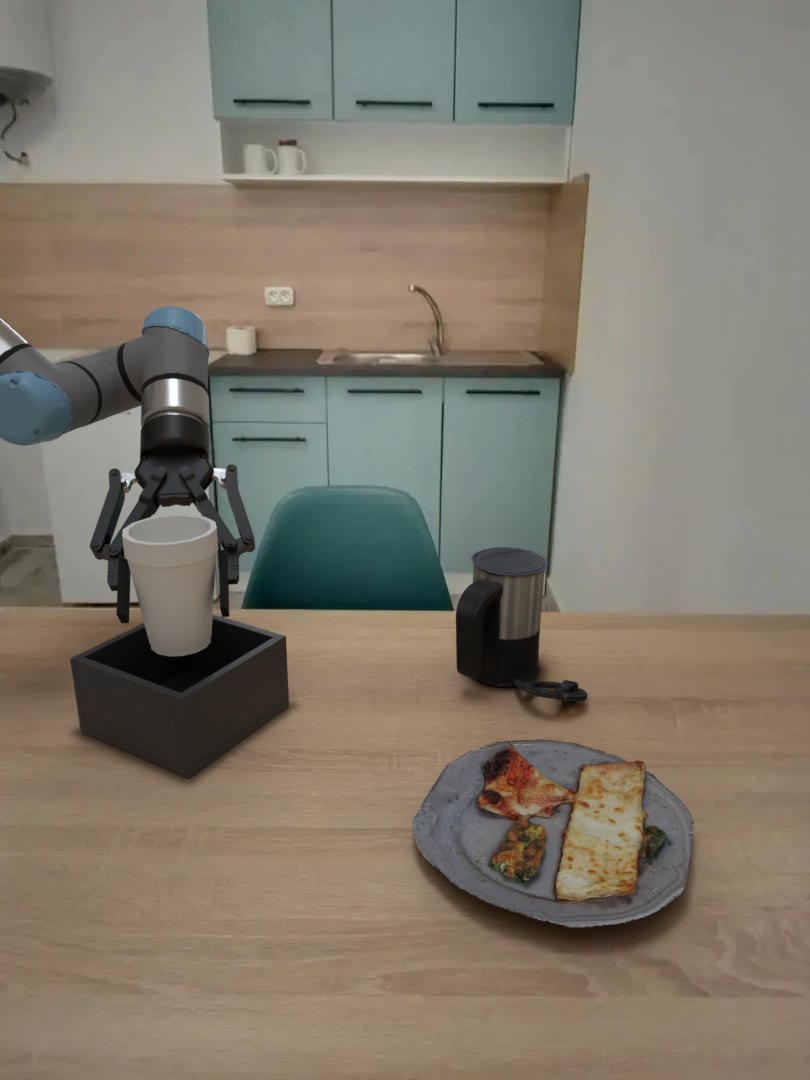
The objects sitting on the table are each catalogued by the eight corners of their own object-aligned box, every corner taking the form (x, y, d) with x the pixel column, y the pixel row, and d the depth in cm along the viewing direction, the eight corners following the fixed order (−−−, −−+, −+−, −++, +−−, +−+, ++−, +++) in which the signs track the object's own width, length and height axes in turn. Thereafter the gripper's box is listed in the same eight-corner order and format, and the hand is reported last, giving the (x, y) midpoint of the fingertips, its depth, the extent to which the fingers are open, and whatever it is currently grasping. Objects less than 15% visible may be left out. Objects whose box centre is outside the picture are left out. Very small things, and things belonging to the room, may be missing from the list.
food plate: (473, 735, 90) (474, 707, 89) (698, 787, 81) (703, 757, 80) (378, 893, 68) (378, 858, 67) (673, 986, 60) (678, 948, 59)
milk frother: (477, 647, 109) (482, 541, 104) (598, 668, 104) (609, 558, 99) (444, 700, 97) (447, 583, 92) (580, 726, 92) (591, 604, 86)
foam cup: (241, 644, 89) (233, 530, 84) (161, 673, 83) (148, 551, 79) (197, 616, 96) (188, 508, 91) (120, 640, 90) (106, 527, 85)
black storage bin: (80, 732, 90) (69, 658, 87) (187, 670, 103) (181, 604, 100) (188, 779, 82) (180, 700, 79) (289, 706, 95) (286, 635, 92)
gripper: (274, 444, 99) (283, 620, 90) (81, 450, 96) (70, 634, 86) (272, 408, 92) (282, 595, 83) (64, 413, 89) (50, 609, 80)
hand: (174, 615), depth 85 cm, fingers closed on foam cup, 9 cm apart
